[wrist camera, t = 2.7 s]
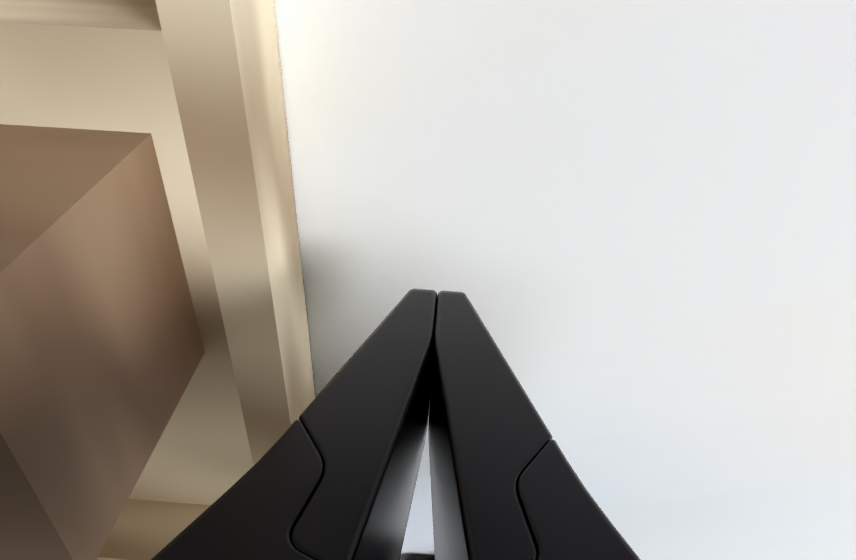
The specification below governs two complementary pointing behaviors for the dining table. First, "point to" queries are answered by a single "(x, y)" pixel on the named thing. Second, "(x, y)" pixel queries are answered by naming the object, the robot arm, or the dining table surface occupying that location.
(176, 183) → the trap box
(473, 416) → the robot arm
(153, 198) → the block
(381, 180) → the dining table surface
